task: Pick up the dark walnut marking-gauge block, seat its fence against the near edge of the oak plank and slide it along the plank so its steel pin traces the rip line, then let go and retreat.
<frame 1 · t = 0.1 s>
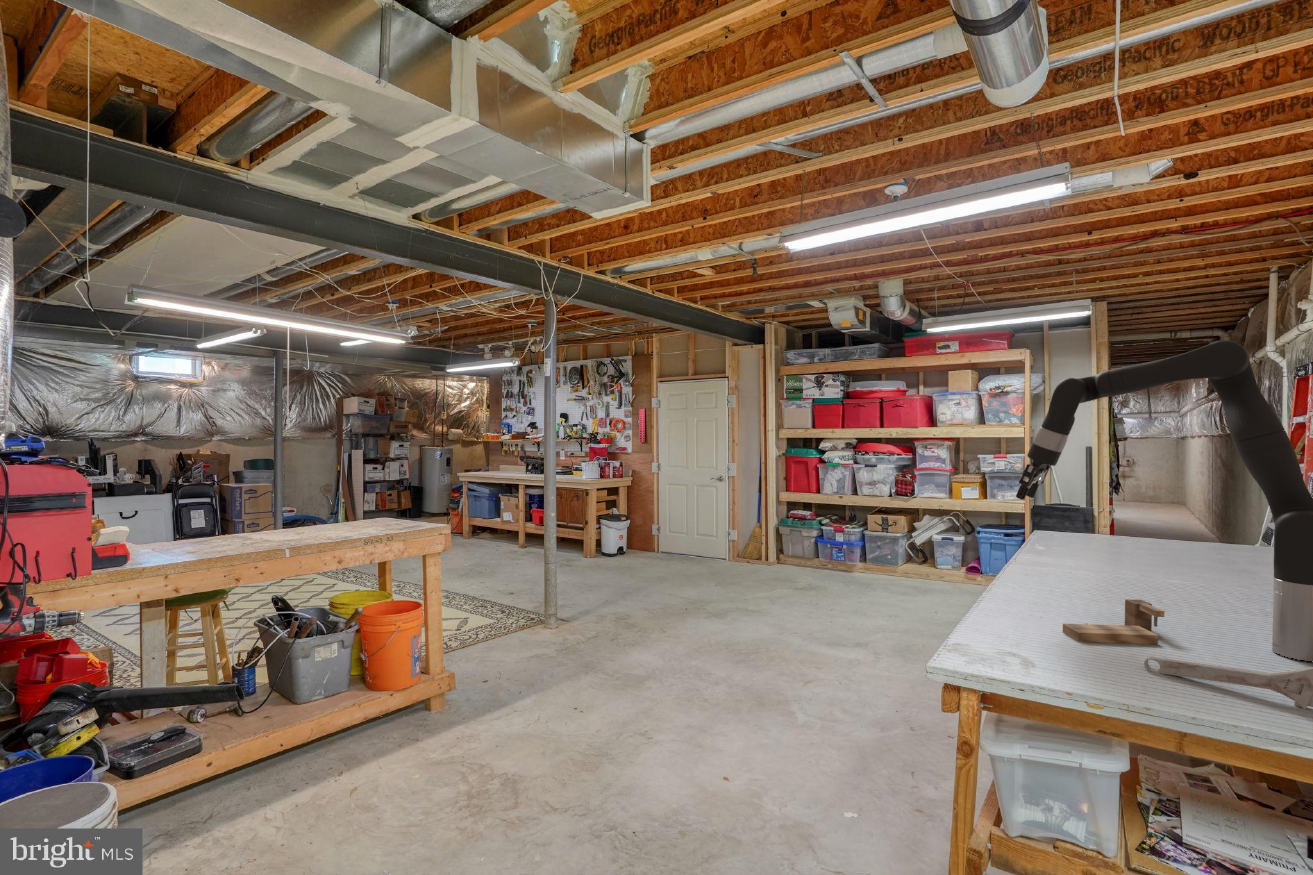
hand: (1024, 497, 183), 31 cm above the workbench, tool tilted 20°, fingers open, 8 cm apart
board: (1108, 637, 155), on the workbench
gauge: (1137, 628, 162), on the workbench
wrench: (1237, 693, 124), on the workbench
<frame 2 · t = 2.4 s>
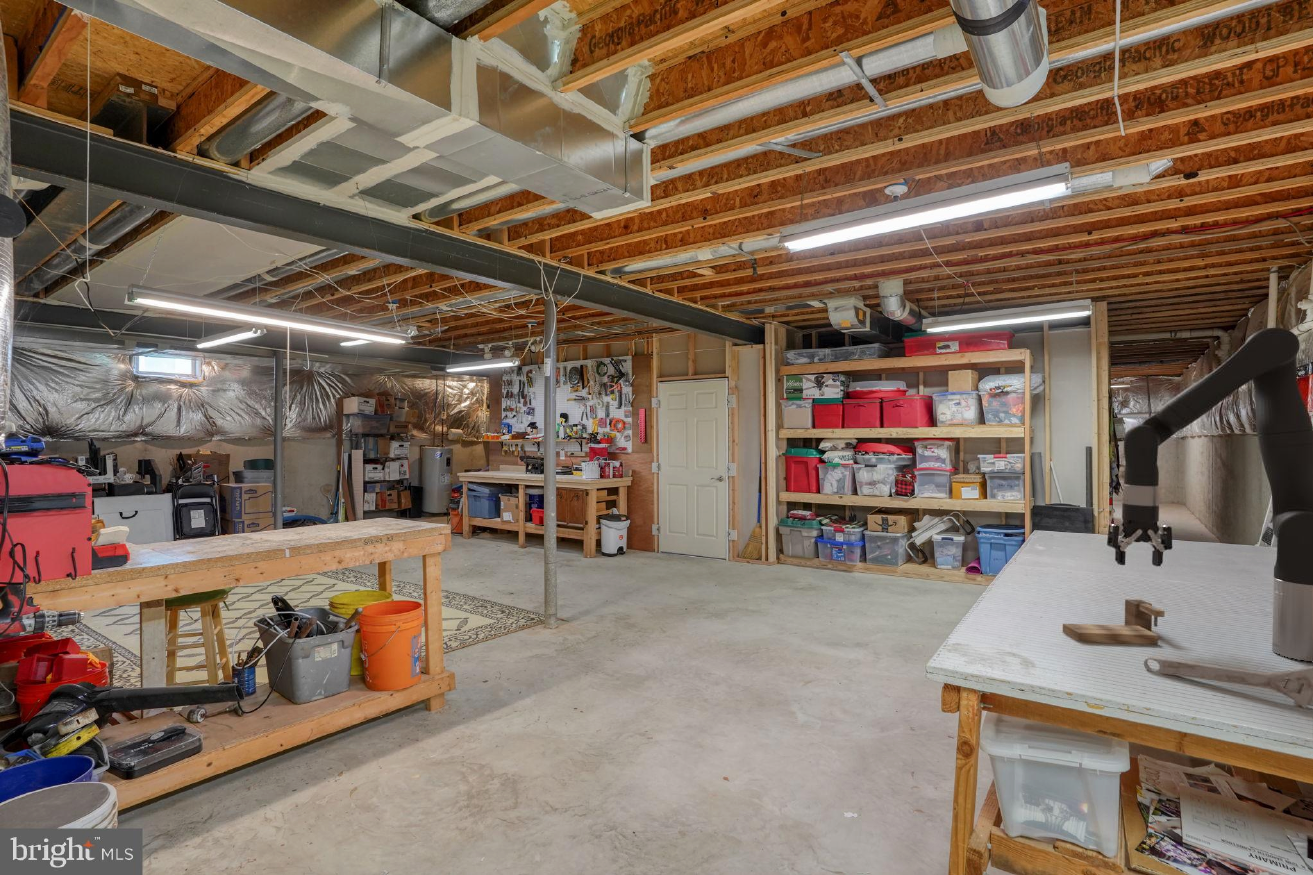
hand: (1138, 565, 162), 16 cm above the workbench, tool pointing down, fingers open, 8 cm apart
nothing on the workbench moved.
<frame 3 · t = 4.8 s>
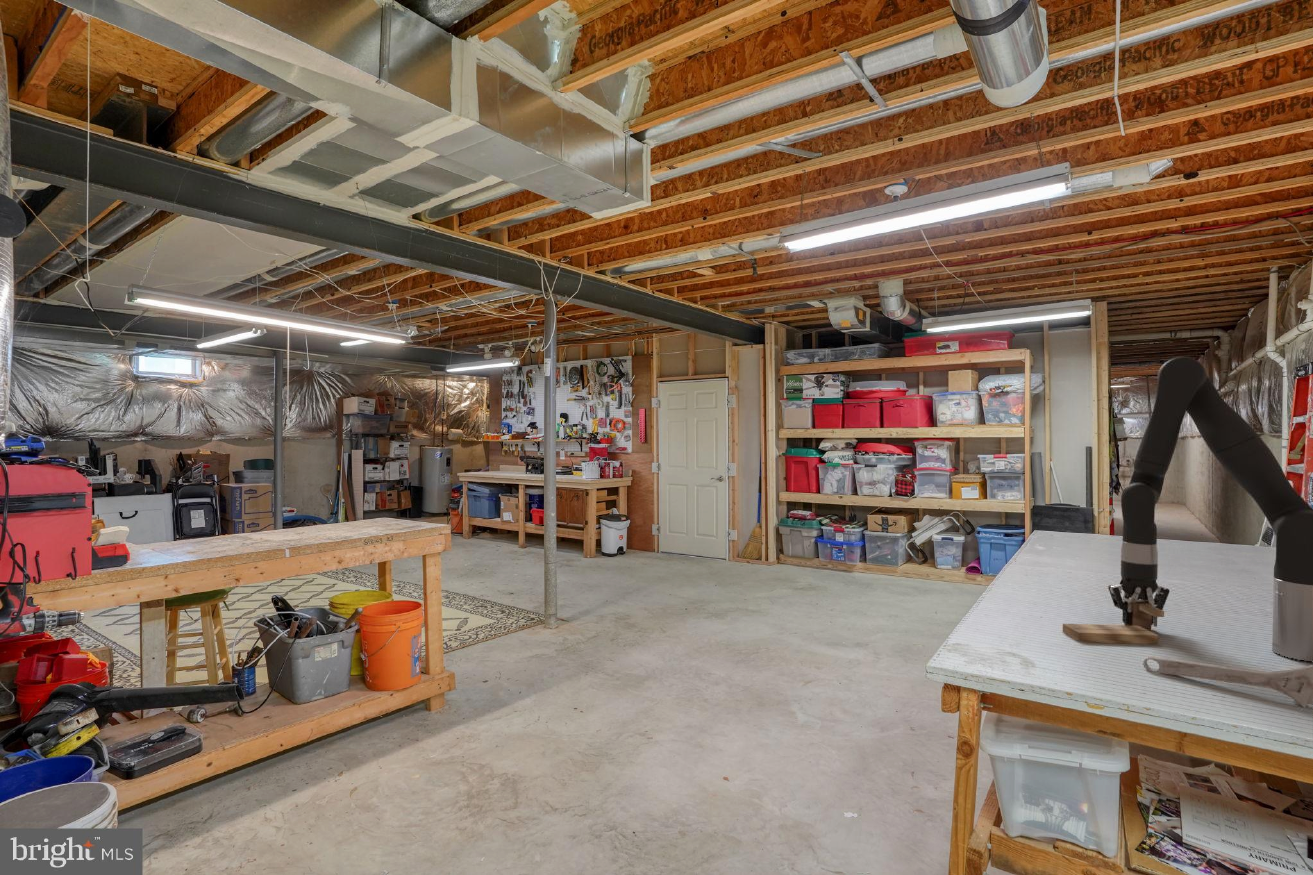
hand: (1137, 625, 162), 1 cm above the workbench, tool pointing down, fingers closed on gauge, 4 cm apart
gauge: (1137, 628, 162), on the workbench, touching gripper
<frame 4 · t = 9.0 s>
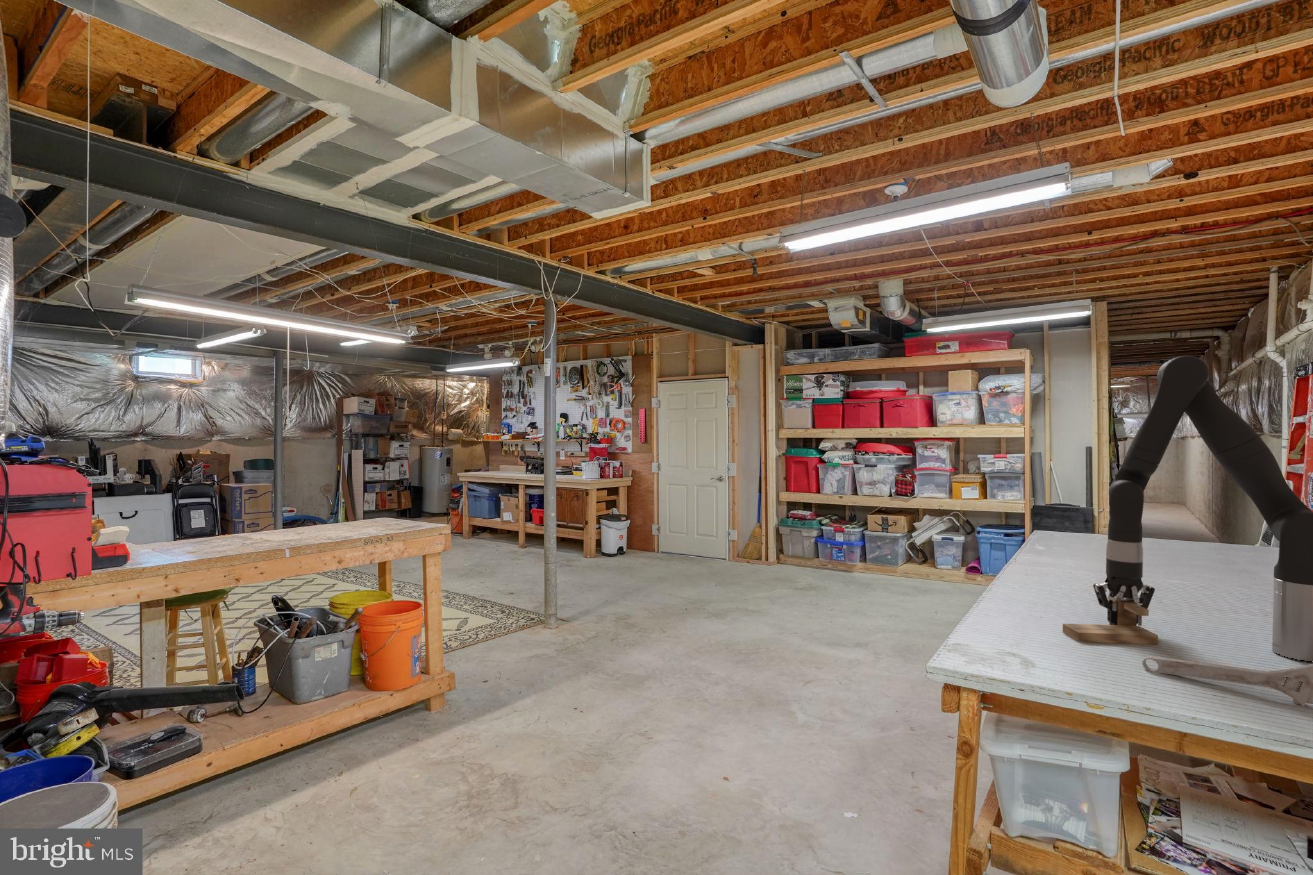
hand: (1122, 624, 160), 2 cm above the workbench, tool pointing down, fingers closed on gauge, 4 cm apart
gauge: (1122, 627, 160), point 1 cm above the workbench, touching gripper
when the fingers open (1 cm above the workbench, at t = 13.5 s): gauge stays where it is, on the workbench.
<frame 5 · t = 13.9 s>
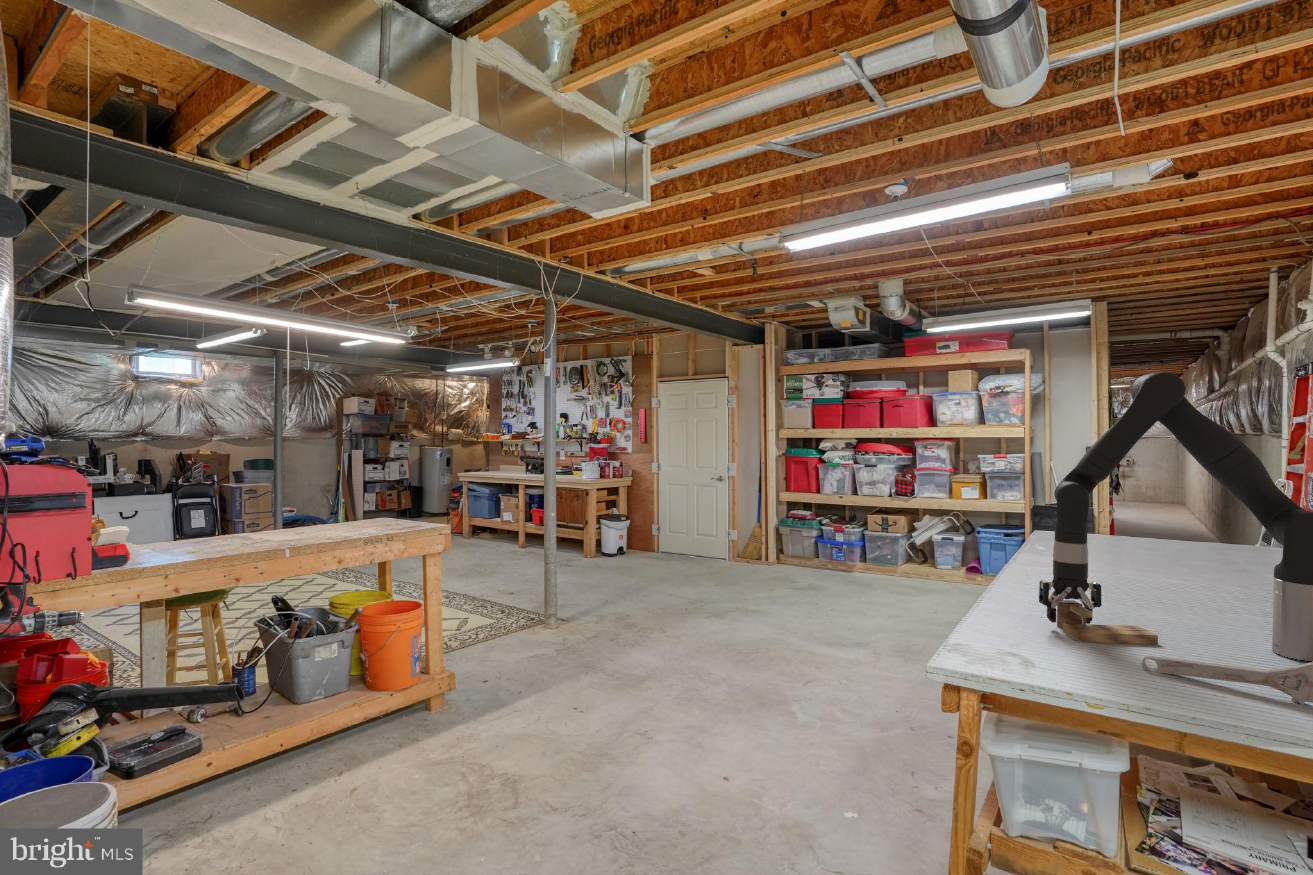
hand: (1069, 622, 161), 2 cm above the workbench, tool pointing down, fingers open, 8 cm apart
gauge: (1069, 629, 161), on the workbench
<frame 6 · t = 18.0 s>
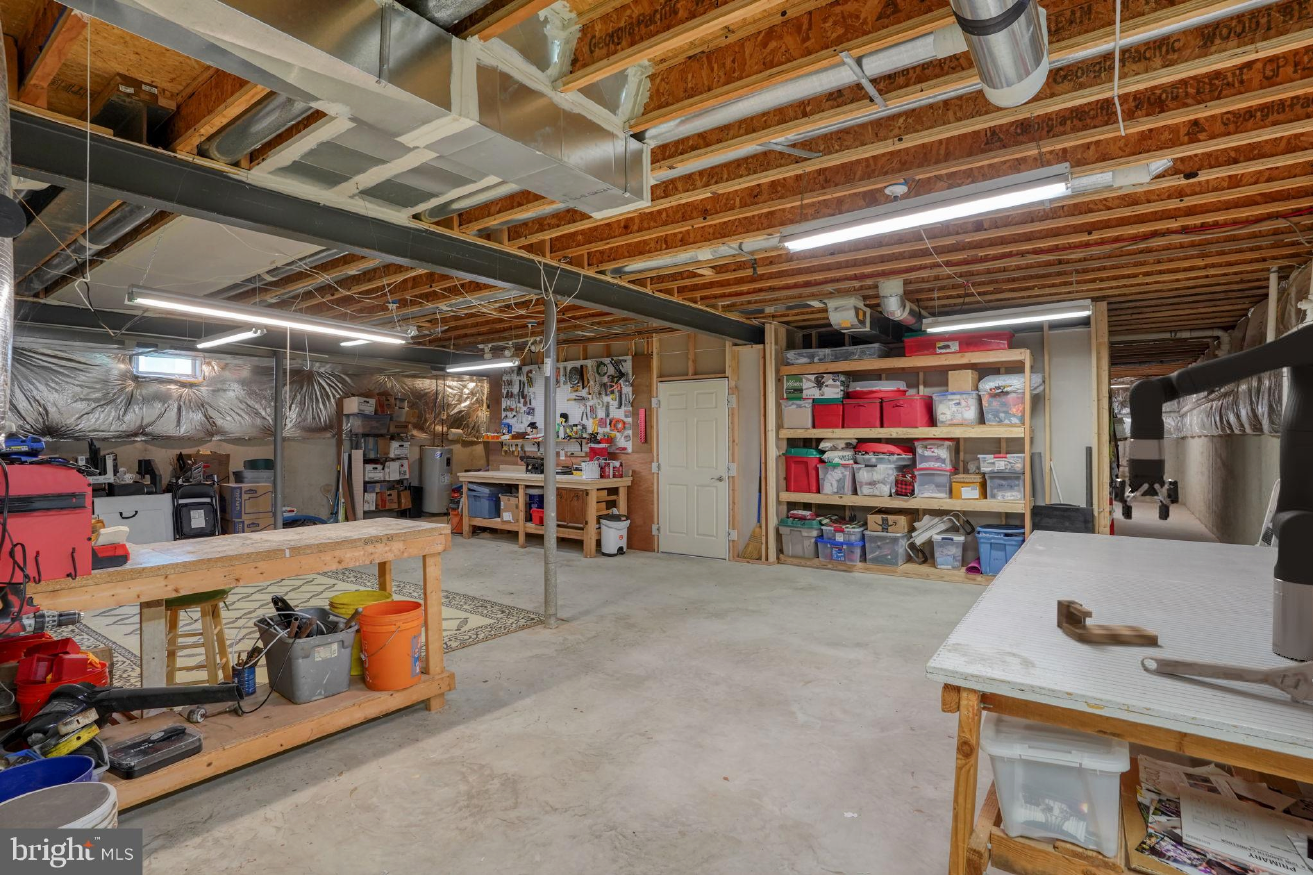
hand: (1145, 519, 162), 28 cm above the workbench, tool pointing down, fingers open, 8 cm apart
at the end: gauge 0.8 cm from the target spot on the workbench beside the board, on the workbench; gauge tilted 0°; the gripper is holding nothing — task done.
